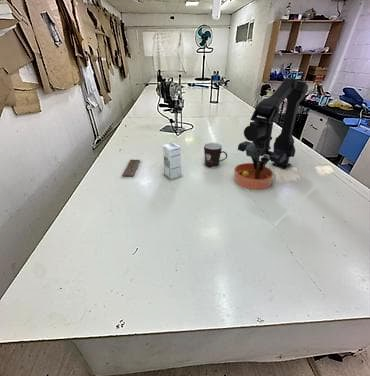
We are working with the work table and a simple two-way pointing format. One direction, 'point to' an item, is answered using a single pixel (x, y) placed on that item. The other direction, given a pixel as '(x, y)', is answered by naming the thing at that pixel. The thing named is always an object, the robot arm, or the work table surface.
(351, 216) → the work table surface
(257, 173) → the stick
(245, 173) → the ball
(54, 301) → the work table surface
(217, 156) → the coffee mug
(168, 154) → the syrup box
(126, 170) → the wooden plank
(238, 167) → the bowl
